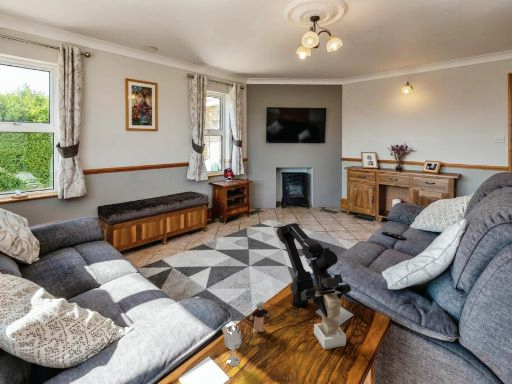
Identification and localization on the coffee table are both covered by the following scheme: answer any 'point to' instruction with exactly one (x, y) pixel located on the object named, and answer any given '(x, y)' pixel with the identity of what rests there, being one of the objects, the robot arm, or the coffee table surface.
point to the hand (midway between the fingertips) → (332, 316)
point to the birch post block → (331, 314)
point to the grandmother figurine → (259, 317)
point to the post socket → (329, 337)
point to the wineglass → (233, 343)
